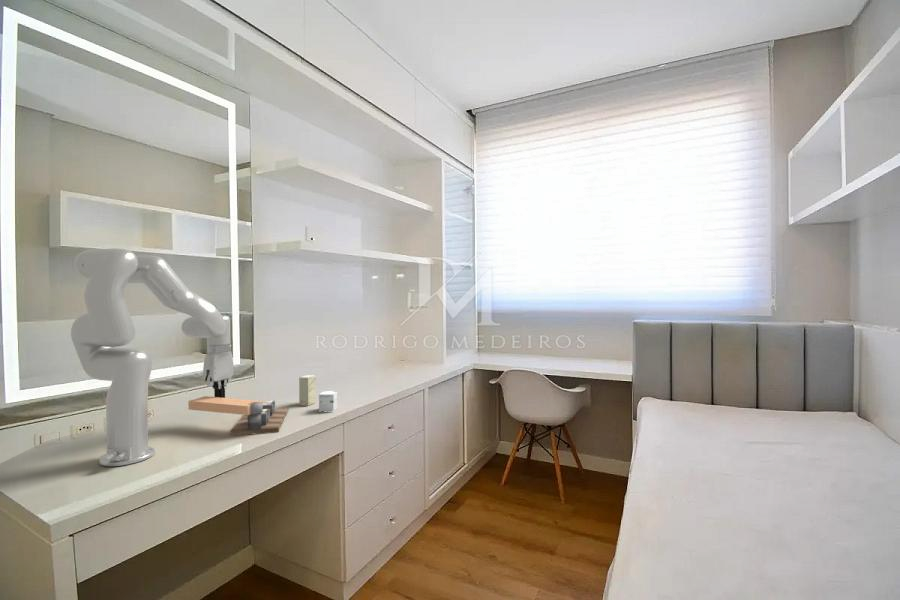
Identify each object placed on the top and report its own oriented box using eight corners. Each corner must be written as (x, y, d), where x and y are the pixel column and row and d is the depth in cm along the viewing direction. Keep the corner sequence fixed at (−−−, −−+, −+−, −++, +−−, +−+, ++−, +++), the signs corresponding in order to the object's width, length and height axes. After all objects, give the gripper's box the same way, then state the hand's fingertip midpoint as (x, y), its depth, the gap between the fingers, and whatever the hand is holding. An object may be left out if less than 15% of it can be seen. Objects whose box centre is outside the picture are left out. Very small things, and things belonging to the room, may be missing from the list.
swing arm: (268, 410, 144) (267, 401, 144) (253, 415, 137) (253, 406, 137) (205, 404, 151) (205, 396, 151) (188, 409, 145) (188, 400, 145)
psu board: (278, 432, 141) (278, 413, 141) (229, 436, 138) (229, 416, 138) (288, 411, 167) (288, 394, 167) (248, 413, 164) (248, 397, 164)
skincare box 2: (318, 412, 166) (318, 394, 166) (322, 408, 172) (322, 390, 172) (333, 412, 166) (333, 394, 166) (337, 408, 172) (337, 390, 172)
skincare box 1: (308, 406, 175) (308, 377, 175) (298, 405, 176) (298, 377, 176) (315, 402, 181) (315, 374, 181) (306, 402, 182) (306, 374, 182)
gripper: (226, 346, 159) (226, 393, 160) (193, 351, 145) (194, 403, 145) (242, 346, 157) (243, 394, 158) (211, 352, 143) (212, 405, 143)
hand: (219, 398), depth 151 cm, fingers closed
